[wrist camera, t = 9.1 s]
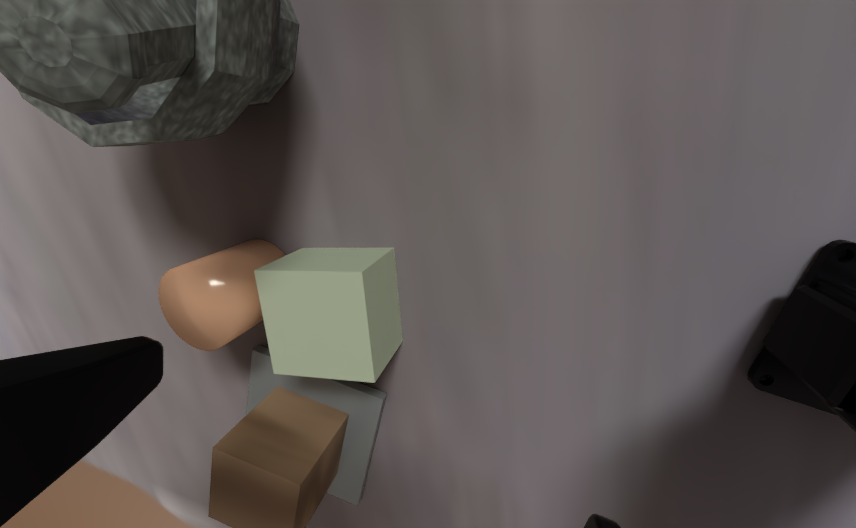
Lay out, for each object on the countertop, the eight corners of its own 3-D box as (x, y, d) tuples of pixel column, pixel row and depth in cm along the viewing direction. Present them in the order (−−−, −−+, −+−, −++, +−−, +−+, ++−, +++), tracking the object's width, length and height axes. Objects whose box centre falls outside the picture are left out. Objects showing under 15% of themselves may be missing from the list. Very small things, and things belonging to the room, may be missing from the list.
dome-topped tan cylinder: (270, 227, 21) (195, 253, 17) (308, 295, 21) (246, 336, 17) (222, 255, 22) (144, 285, 18) (259, 318, 23) (191, 360, 19)
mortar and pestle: (129, 73, 21) (-350, -3, 9) (181, -139, 17) (-481, -655, 6) (309, 197, 20) (26, 271, 9) (402, 5, 17) (125, -267, 5)
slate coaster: (387, 393, 22) (383, 399, 22) (361, 498, 25) (357, 506, 24) (258, 344, 24) (252, 349, 23) (248, 449, 26) (241, 456, 26)
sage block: (394, 247, 20) (361, 272, 16) (403, 340, 21) (374, 382, 18) (303, 247, 21) (253, 270, 17) (317, 335, 23) (273, 373, 19)
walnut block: (336, 474, 24) (289, 553, 19) (270, 445, 25) (208, 516, 20) (348, 414, 23) (300, 485, 18) (277, 386, 23) (212, 447, 19)
